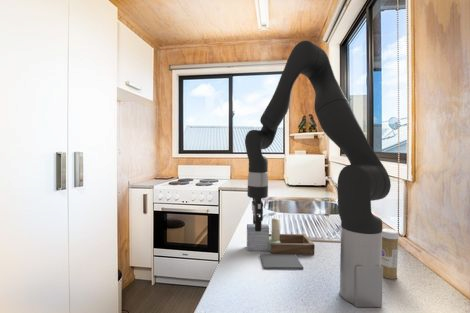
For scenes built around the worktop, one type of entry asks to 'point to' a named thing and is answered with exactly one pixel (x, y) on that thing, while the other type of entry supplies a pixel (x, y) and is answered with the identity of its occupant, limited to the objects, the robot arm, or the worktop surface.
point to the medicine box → (257, 238)
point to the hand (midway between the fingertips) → (256, 227)
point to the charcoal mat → (281, 261)
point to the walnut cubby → (293, 245)
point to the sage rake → (275, 232)
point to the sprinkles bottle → (389, 253)
